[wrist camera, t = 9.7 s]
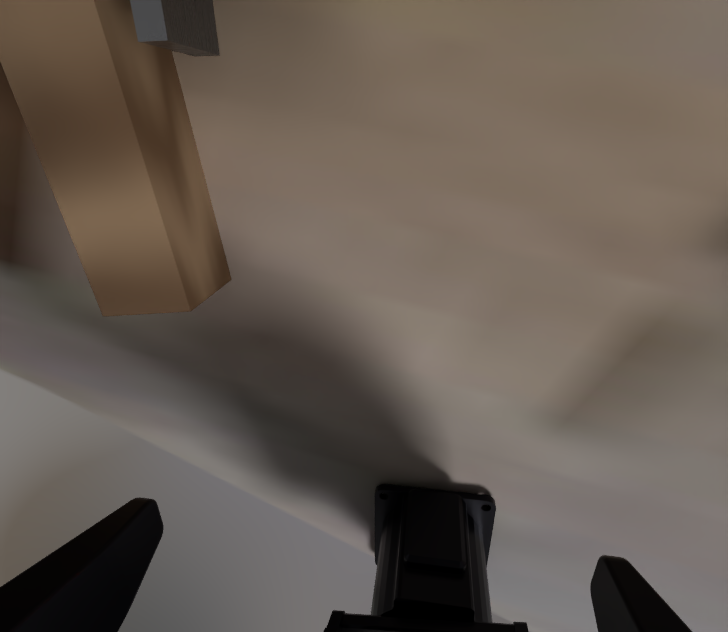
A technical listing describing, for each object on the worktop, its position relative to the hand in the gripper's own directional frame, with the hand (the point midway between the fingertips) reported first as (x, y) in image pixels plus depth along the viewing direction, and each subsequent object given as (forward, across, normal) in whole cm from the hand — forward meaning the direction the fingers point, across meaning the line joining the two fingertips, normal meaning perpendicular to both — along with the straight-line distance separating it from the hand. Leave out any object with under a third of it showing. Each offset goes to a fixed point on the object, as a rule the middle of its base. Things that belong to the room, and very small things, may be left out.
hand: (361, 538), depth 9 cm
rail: (+12, +11, -8) cm, 18 cm away
